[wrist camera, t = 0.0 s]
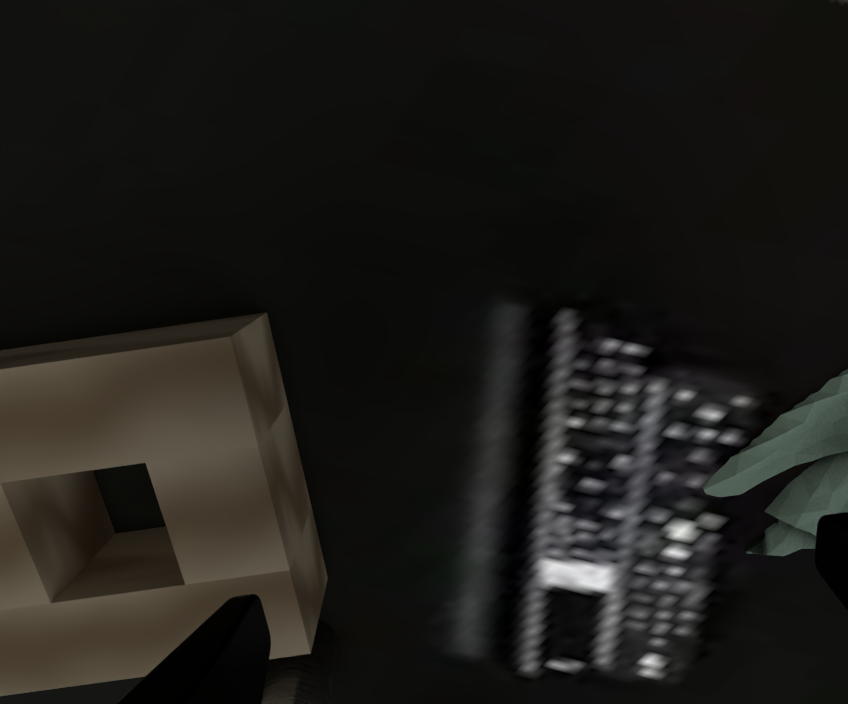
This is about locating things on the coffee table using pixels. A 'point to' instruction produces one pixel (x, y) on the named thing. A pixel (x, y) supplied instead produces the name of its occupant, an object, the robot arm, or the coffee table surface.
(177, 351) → the socket board
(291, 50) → the coffee table surface
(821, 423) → the cloth
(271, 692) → the peg
